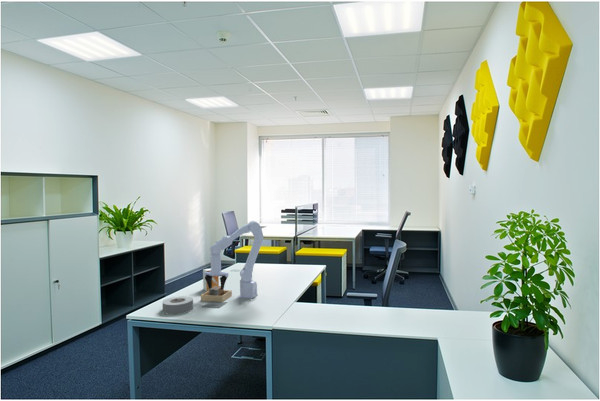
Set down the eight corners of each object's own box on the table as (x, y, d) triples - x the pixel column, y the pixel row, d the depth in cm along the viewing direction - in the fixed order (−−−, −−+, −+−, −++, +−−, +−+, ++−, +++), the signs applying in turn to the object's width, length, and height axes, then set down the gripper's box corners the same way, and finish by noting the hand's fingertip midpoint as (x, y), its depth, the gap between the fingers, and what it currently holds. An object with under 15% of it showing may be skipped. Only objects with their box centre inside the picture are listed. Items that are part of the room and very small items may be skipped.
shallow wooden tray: (231, 296, 222) (231, 290, 221) (222, 302, 210) (222, 296, 210) (211, 295, 225) (211, 289, 225) (200, 301, 213) (200, 295, 213)
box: (223, 296, 221) (223, 286, 220) (217, 300, 213) (217, 289, 213) (215, 296, 222) (215, 285, 222) (209, 299, 214) (209, 289, 214)
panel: (227, 303, 208) (227, 302, 208) (219, 308, 198) (218, 307, 198) (210, 302, 211) (210, 301, 211) (201, 307, 201) (201, 306, 201)
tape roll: (187, 314, 191) (187, 304, 191) (157, 314, 191) (157, 304, 191) (196, 305, 206) (196, 295, 206) (168, 305, 207) (168, 296, 207)
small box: (206, 291, 233) (206, 270, 233) (203, 289, 238) (202, 269, 238) (219, 289, 238) (218, 269, 237) (215, 287, 243) (215, 267, 243)
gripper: (200, 265, 215) (201, 289, 215) (224, 266, 211) (224, 291, 211) (207, 263, 222) (207, 286, 222) (229, 264, 218) (230, 288, 218)
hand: (216, 288), depth 217 cm, fingers open, 7 cm apart
